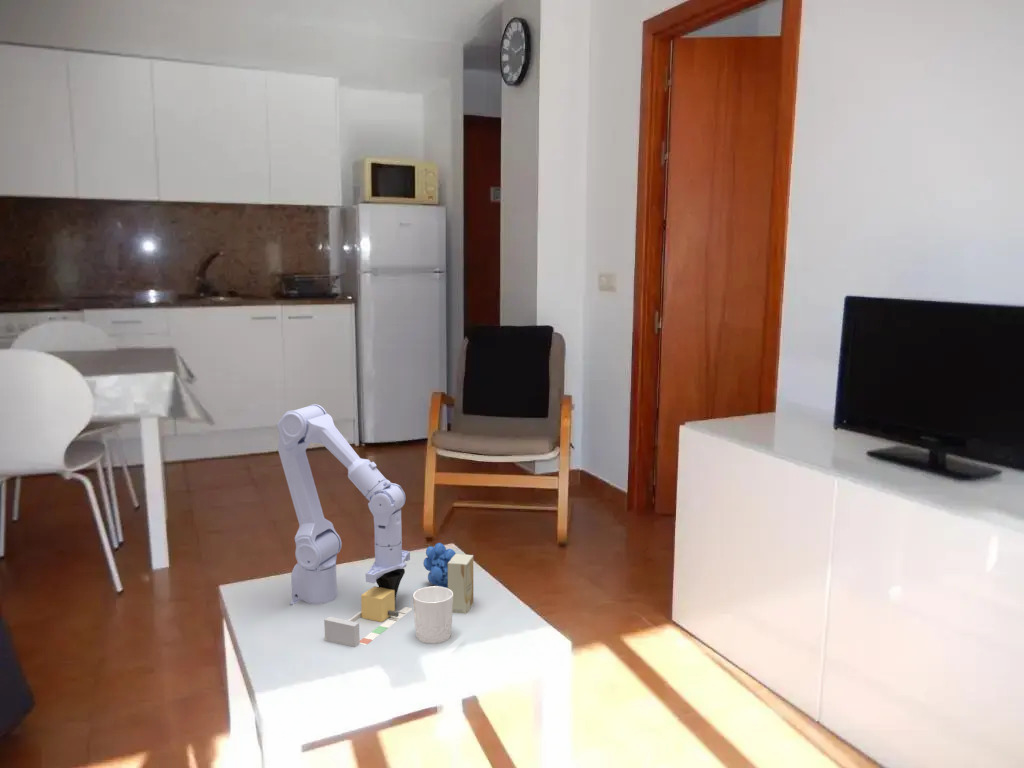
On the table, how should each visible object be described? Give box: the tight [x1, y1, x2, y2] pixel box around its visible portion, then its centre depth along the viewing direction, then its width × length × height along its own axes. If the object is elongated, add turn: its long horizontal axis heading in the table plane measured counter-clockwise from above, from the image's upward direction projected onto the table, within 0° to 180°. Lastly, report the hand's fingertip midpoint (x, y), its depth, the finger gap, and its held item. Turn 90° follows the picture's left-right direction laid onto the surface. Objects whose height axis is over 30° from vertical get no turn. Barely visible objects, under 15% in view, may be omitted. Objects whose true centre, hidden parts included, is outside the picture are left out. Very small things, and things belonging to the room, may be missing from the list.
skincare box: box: [448, 553, 475, 615], centre depth 164 cm, size 6×4×12 cm
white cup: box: [412, 585, 453, 644], centre depth 151 cm, size 8×8×10 cm
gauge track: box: [323, 606, 414, 648], centre depth 158 cm, size 11×22×6 cm, turn 157°
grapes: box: [423, 542, 457, 588], centre depth 173 cm, size 12×7×12 cm, turn 56°
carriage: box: [360, 586, 399, 623], centre depth 160 cm, size 7×5×5 cm
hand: (389, 602), depth 164 cm, fingers closed
